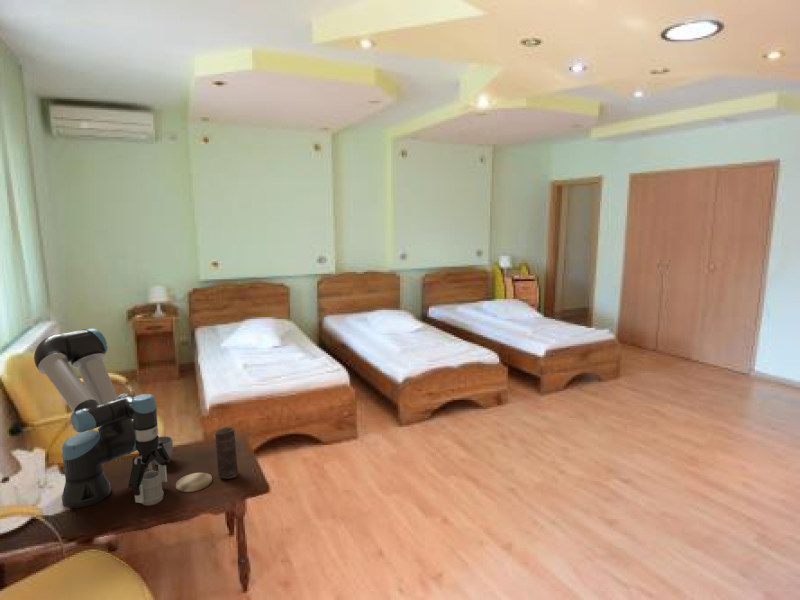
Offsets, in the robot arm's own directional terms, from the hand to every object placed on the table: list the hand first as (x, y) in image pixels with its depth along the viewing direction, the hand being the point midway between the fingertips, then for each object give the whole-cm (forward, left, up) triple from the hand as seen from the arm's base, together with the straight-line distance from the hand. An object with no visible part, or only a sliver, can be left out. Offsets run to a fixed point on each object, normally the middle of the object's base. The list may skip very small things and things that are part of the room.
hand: (151, 491), depth 176 cm
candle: (+20, +18, -2) cm, 27 cm away
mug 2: (-13, +25, -2) cm, 28 cm away
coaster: (+10, +11, -2) cm, 15 cm away
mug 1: (0, 0, -2) cm, 2 cm away
